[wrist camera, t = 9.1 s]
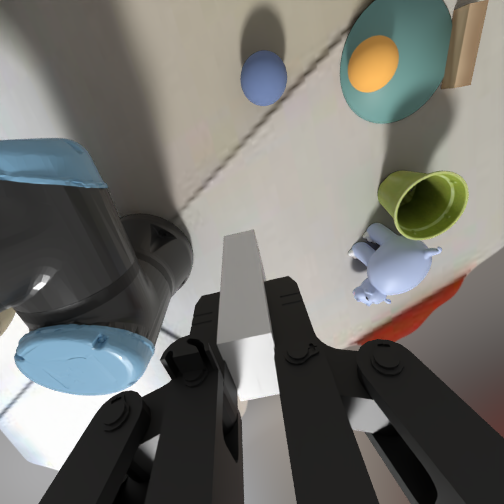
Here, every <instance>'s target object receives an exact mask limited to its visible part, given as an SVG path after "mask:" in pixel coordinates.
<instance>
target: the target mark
mask: <svg viewBox="0 0 504 504" xmlns="http://www.w3.org/2000/svg"><path fill="white" fill-rule="evenodd" d="M451 31H452V21H451V17H450V14H449V11H448V9H447V7H446V6H445V4H444V2H443V1H442V0H375V1H374V2H373V3H372V4H370V5H369V7H368V8H367V9H366V10H365V11H364V12H363V13H362V14H361V16H360V17H359V18H358V20H357V21H356V23H355V24H354V26H353V28H352V29H351V31H350V33H349V36H348V38H347V40H346V43H345V46H344V49H343V53H342V58H341V64H340V81H341V87H342V91H343V94H344V97H345V99H346V102H347V103H348V105H349V106H350V108H351V109H352V110H353V111H354V113H356V114H357V115H358V116H359V117H361V118H363V119H364V120H367V121H369V122H373V123H391V122H395V121H398V120H401V119H403V118H405V117H407V116H409V115H411V114H412V113H414V112H415V111H417V110H418V109H419V108H420V107H421V106H423V105H424V104H425V103H426V102H427V101H428V100H429V98H430V97H431V96H432V95H433V93H434V92H435V91H436V89H437V88H438V86H439V85H440V83H441V81H442V79H443V77H444V73H445V67H446V61H447V55H448V49H449V43H450V37H451ZM377 35H382V36H386V37H388V38H390V39H391V40H393V41H394V43H395V44H396V46H397V48H398V52H399V62H398V66H397V69H396V72H395V74H394V76H393V77H392V79H391V80H390V81H389V82H388V83H387V84H386V85H385V86H384V87H382V88H381V89H379V90H377V91H374V92H369V93H365V92H361V91H358V90H357V89H355V88H354V87H353V86H352V84H351V83H350V81H349V78H348V64H349V60H350V58H351V55H352V53H353V52H354V50H355V49H356V48H357V46H358V45H359V44H360V43H362V42H363V41H364V40H366V39H368V38H370V37H373V36H377Z"/></svg>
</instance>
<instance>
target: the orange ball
mask: <svg viewBox="0 0 504 504" xmlns="http://www.w3.org/2000/svg"><path fill="white" fill-rule="evenodd" d="M398 62H399V52H398V48H397V46H396V44H395V43H394V41H393V40H391V39H390V38H388V37H386V36H382V35H377V36H373V37H370V38H368V39H366V40H364V41H363V42H362V43H360V44H359V45H358V46H357V48H356V49H355V50H354V52H353V53H352V55H351V58H350V60H349V64H348V78H349V81H350V83H351V84H352V86H353V87H354V88H355V89H357V90H358V91H361V92H365V93H369V92H374V91H377V90H379V89H381V88H382V87H384V86H385V85H386V84H387V83H388V82H389V81H390V80H391V79H392V77H393V76H394V74H395V72H396V69H397V66H398Z"/></svg>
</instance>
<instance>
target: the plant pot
mask: <svg viewBox="0 0 504 504" xmlns="http://www.w3.org/2000/svg"><path fill="white" fill-rule="evenodd" d="M412 187H413V190H412V191H410V190H411V188H412ZM468 196H469V194H468V186H467V184H466V182H465V180H464V179H463V178H462V177H461V176H460V175H458V174H456V173H454V172H450V171H436V172H432V173H429V174H426V173H419V172H412V171H397V172H394V173H392V174H390V175H389V176H388V177H387V178H386V179H385V180H384V181H383V182H382V183H381V185H380V187H379V189H378V200H379V202H380V204H381V205H382V206H383V207H384V208H385V209H386V210H387V212H388V213H389V214H390V215H391V216H392V217H393V219H394V223H395V226H396V228H397V230H398V231H399V232H400V233H401V234H402V235H403V236H405V237H406V238H408V239H412V240H426V239H430V238H433V237H436V236H438V235H440V234H442V233H444V232H445V231H447V230H448V229H449V228H450V227H452V226H453V225H454V224H455V223H456V222H457V221H458V219H459V218H460V216H461V215H462V213H463V212H464V210H465V208H466V205H467V201H468Z"/></svg>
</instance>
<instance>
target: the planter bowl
mask: <svg viewBox="0 0 504 504" xmlns="http://www.w3.org/2000/svg"><path fill="white" fill-rule="evenodd" d="M15 312H16V311H15V310H14V309H13V308H12V307H11V308H9V309H6V310H4V311H2V312H1V313H0V336H1V335H2V334H3V333H4V332H5V330H6V329H7V328H8V326H9V324H10V323H11V321H12V319H13V317H14V315H15Z"/></svg>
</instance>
